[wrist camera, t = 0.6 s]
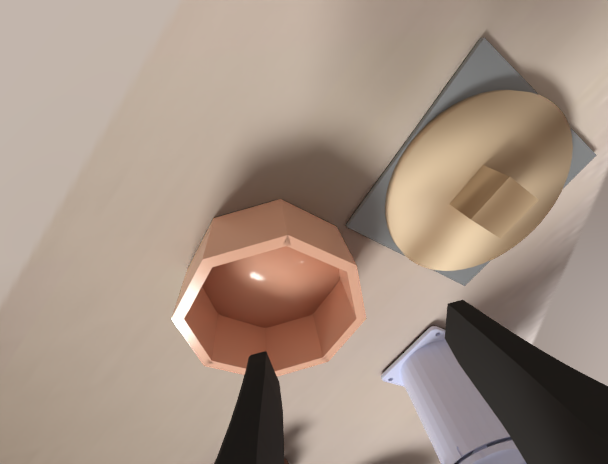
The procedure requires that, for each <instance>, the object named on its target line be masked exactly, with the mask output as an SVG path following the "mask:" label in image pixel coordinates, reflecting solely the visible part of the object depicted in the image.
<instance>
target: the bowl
mask: <svg viewBox="0 0 608 464" xmlns="http://www.w3.org/2000/svg"><path fill="white" fill-rule="evenodd" d="M171 319H172V321H173V322H174V324H175V325H176V326H177V328H178V329H179V331H180V332H181V334H182V335H183V336H184V338H185V339H186V341H187V342H188V344H189V345H190V346H191V348H192V349H193V351H194V352H195V354H196V355H197V356H198V358H199V359H200V361H201V362H202V364H203V365H204V366H207V367H212V368H216V369H221V370H225V371H230V372H234V373H239V374H243V375H245V371H246V367H247V363H248V358H249V356H250V355H253V354H256V353H260V352H264V351H266V352H267V354H268V356H269V359H270V361H271V364H272V366H273V369H274V371H275V373H276V376H281V375H284V374H288V373H291V372H295V371H298V370H301V369H305V368H308V367H312V366H315V365H318V364H322V363H325V362H328V361H329V360H330V359H331V358H332V357H333V356H334V355H335V353H336V352H337V351H338V350H339V349H340V348H341V347H342V346H343V344H344V343H345V342H346V341H347V340H348V339H349V338H350V336H351V335H352V334H353V333H354V332H355V331H356V330H357V329H358V327H359V326H360V325H361V324H362V323H363V322H364V321H365V320H366V314H365V309H364V303H363V298H362V292H361V286H360V281H359V275H358V270H357V265H356V263H355V261H354V259H353V257H352V255H351V253H350V251H349V249H348V248H347V246H346V244H345V242H344V240H343V238H342V236H341V234H340V232H339V230H338V228H337V226H334V225H332V224H330V223H328V222H326V221H324V220H322V219H320V218H318V217H316V216H314V215H312V214H310V213H308V212H306V211H304V210H302V209H300V208H298V207H296V206H294V205H292V204H290V203H288V202H286V201H284V200H282V199H279V200H275V201H272V202H268V203H265V204H261V205H258V206H254V207H251V208H247V209H244V210H240V211H237V212H233V213H230V214H226V215H223V216H219V217H216V218H213V220H212V222H211V224H210V226H209V228H208V230H207V232H206V234H205V236H204V237H203V239H202V241H201V243H200V245H199V247H198V249H197V251H196V253H195V255H194V257H193V259H192V261H191V263H190V265H189V267H188V269H187V272H186V275H185V278H184V281H183V284H182V287H181V290H180V293H179V297H178V300H177V303H176V306H175V309H174V312H173V315H172V318H171Z"/></svg>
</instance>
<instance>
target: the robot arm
mask: <svg viewBox="0 0 608 464" xmlns="http://www.w3.org/2000/svg"><path fill="white" fill-rule="evenodd" d="M381 378H382V380H383V381H385V382H389V383H393V384H396V385H400V386H404V387H405V388H406V390H407V392H408V395H409V397H410V399H411V401H412V403H413V405H414V407H415V409H416V411H417V414H418V416H419V418H420V420H421V422H422V424H423V426H424V428H425V431H426V433H427V435H428V437H429V439H430V441H431V443H432V445H433V447H434V450H435V452H436V454H437V456H438V458H439V460H440V462H441V464H608V386H606V385H604V384H602V383H600V382H598V381H596V380H594V379H592V378H590V377H588V376H586V375H584V374H582V373H580V372H578V371H577V370H575V369H573V368H571V367H569V366H568V365H566V364H564V363H562V362H560V361H559V360H557V359H555V358H554V357H552V356H550V355H548V354H547V353H545V352H543V351H542V350H540V349H538V348H537V347H535V346H533V345H532V344H530V343H528V342H527V341H525V340H524V339H522V338H520V337H519V336H517V335H516V334H514V333H512V332H511V331H509V330H508V329H506V328H505V327H503V326H502V325H500V324H499V323H497V322H495V321H494V320H492V319H491V318H489V317H488V316H486V315H485V314H483V313H482V312H480V311H479V310H477V309H476V308H474V307H473V306H471V305H470V304H468V303H467V302H465V301H464V300H461V301H457V302H453V303H449V304H448V307H447V318H446V330H444V329H442V328H439V327H437V326H432V327H430V328H429V329H427V330H426V331H425V332H424V333H423V334H422V335H421V336H420V337H419V338H418V339H417V340H416V341H415V342H414V343H413V344H412V345H411V346H410V347H409V348H408V349H407V350H406V351H405V352H404V353H403V354H402V355H401V356H400V357H399V358H398V359H397V360H396V361H395V362H394V363H393V364H392V365H391V366H390V367H389V368H388V369H387V370H386V371H385V372H384V373H383V374H382V375H381ZM215 464H284V435H283V409H282V401H281V393H280V385H279V381H278V378H277V376H276V373H275V371H274V369H273V366H272V364H271V361H270V359H269V356H268V354H267V352H266V351H264V352H260V353H256V354H253V355H250V356H249V358H248V363H247V367H246V371H245V375H244V379H243V383H242V386H241V390H240V393H239V397H238V400H237V403H236V406H235V409H234V412H233V415H232V418H231V421H230V424H229V427H228V430H227V432H226V435H225V438H224V440H223V443H222V446H221V448H220V451H219V454H218V456H217V459H216V461H215Z"/></svg>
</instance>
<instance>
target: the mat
mask: <svg viewBox="0 0 608 464" xmlns="http://www.w3.org/2000/svg"><path fill="white" fill-rule="evenodd" d="M493 90H514V91H524V92H531V93H534V94H538V93H537V92H536V91H535V90H534V89H533V88H532V87H531V86H530V85H529V84H528V83H527V82H526V81H525V80H524V79H523V78H522V76H521V75H520V74H519V73H518V72H517V71H516V70H515V69H514V68H513V67H512V66H511V65H510V64H509V63H508V62H507V61H506V60H505V59H504V58H503V57H502V56H501V54H500V53H499V52H498V51H497V50H496V49H495V48H494V47H493V46H492V45H491V44H490V43H489V42H488V41H487V40H486V39H485V38H480V40H479V41H478V42H477V44H476V45H475V46H474V48H473V49H472V51H471V52H470V53H469V55H468V56H467V58H466V59H465V60H464V62H463V63H462V64H461V66H460V67H459V69H458V70H457V71H456V73H455V74H454V76H453V77H452V78H451V80H450V81H449V82H448V84H447V85H446V87H445V88H444V89H443V91H442V92H441V94H440V95H439V96H438V98H437V99H436V100H435V102H434V103H433V105H432V106H431V107H430V109H429V110H428V112H427V113H426V114H425V116H424V117H423V118H422V120H421V121H420V123H419V124H418V125H417V127H416V128H415V130H414V131H413V132H412V134H411V135H410V136H409V138H408V139H407V141H406V142H405V143H404V145H403V146H402V148H401V149H400V150H399V152H398V153H397V154H396V156H395V157H394V159H393V160H392V161H391V163H390V164H389V166H388V167H387V168H386V170H385V171H384V172H383V174H382V175H381V177H380V178H379V179H378V181H377V182H376V184H375V185H374V186H373V188H372V189H371V190H370V192H369V193H368V195H367V196H366V197H365V199H364V200H363V202H362V203H361V204H360V206H359V207H358V209H357V210H356V211H355V213H354V214H353V215H352V217H351V218H350V220H349V221H348V222H347V224H346V226H347V227H348V228H350V229H352V230H354V231H356V232H358V233H360V234H362V235H364V236H366V237H368V238H370V239H372V240H374V241H376V242H378V243H380V244H382V245H384V246H386V247H388V248H390V249H392V250H394V251H396V252H398V253H400V254H402V255H404V254H403V252H402V251H401V250H400V249H399V248H398V246H397V245H396V244H395V242H394V241H393V239H392V237H391V235H390V233H389V230H388V227H387V223H386V218H385V200H386V193H387V189H388V185H389V181H390V178H391V176H392V173H393V170H394V168H395V166H396V164H397V162H398V160H399V159H400V157H401V155H402V154H403V152H404V151H405V149H406V148H407V146H408V145H409V143H410V142H411V141H412V140H413V139H414V137H415V136H416V135H417V134H418V133H419V132H420V131H421V130H422V129H423V128H424V127H425V126H426V125H427V124H428V123H429V122H430V121H431V120H432V119H434V118H435V117H436V116H437V115H439V114H440V113H441V112H443V111H444V110H446V109H447V108H449V107H450V106H452V105H454V104H456V103H458V102H460V101H462V100H464V99H466V98H468V97H471V96H474V95H477V94H480V93H484V92H489V91H493ZM538 95H539V94H538ZM570 130H571V134H572V143H573V151H572V161H571V166H570V170H569V173H568V176H567V179H566V182H565V184H564V187H565V186H566V185H567V184H568V183H569V182H570V181H571V180H572V179H573V178H574V177H575V176H576V175H577V174H578V173H579V172H580V171H581V170H582V169H583V168H584V167H585V166H586V165H587V164H588V163H589V162H590V161H591V160H592V159H593V158H594V157H595V156H596V154H595V153H594V152H593V151H592V150H591V149H590V148H589V147H588V146H587V145H586V144H585V142H584V141H583V140H582V139H581V138H580V137H579V136H578V135H577V134H576V133H575V132H574V131H573V130H572V129H571V128H570ZM564 187H563V188H564ZM404 256H405V255H404ZM490 261H491V260H490ZM490 261H488V262H486V263H483V264H480V265H477V266H474V267H471V268H467V269H462V270H454V271H440V270H434V271H436V272H438V273H440V274H442V275H444V276H446V277H448V278H450V279H452V280H454V281H456V282H458V283H460V284H462V285H464V286H465V285H466V284H467V283H468V282H469V281H470V280H471V279H472V278H473V277H474V276H476V275H477V274H478V273H479V272H480V271H481V270H482V269H483V268H484V267H485V266H486V265H487V264H488V263H489V262H490ZM432 270H433V269H432Z"/></svg>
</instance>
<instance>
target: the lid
mask: <svg viewBox="0 0 608 464" xmlns="http://www.w3.org/2000/svg"><path fill="white" fill-rule="evenodd" d="M572 151H573V143H572V134H571V130H570V126H569V124H568V122H567V120H566V117H565V116H564V114H563V113H562V112H561V110H560V109H559V108H558V107H557V106H556V105H555V104H554V103H553V102H551V101H550V100H548V99H546V98H545V97H543V96H541V95H538V94H534V93H531V92H524V91H514V90H493V91H489V92H484V93H480V94H477V95H474V96H471V97H468V98H466V99H464V100H462V101H460V102H458V103H456V104H454V105H452V106H450V107H449V108H447V109H446V110H444V111H443V112H441V113H440V114H439V115H437V116H436V117H435V118H434V119H432V120H431V121H430V122H429V123H428V124H427V125H426V126H425V127H424V128H423V129H422V130H421V131H420V132H419V133H418V134H417V135H416V136H415V137H414V139H413V140H412V141H411V142H410V143H409V145H408V146H407V148H406V149H405V151H404V152H403V154H402V155H401V157H400V159H399V160H398V162H397V164H396V166H395V168H394V170H393V173H392V176H391V178H390V181H389V185H388V189H387V193H386V200H385V218H386V223H387V227H388V230H389V233H390V235H391V237H392V239H393V241H394V242H395V244H396V245H397V246H398V248H399V249H400V250H401V251H402V252H403V254H404V255H405V256H406V257H408V258H409V259H410V260H411V261H413V262H414V263H416V264H418V265H420V266H423V267H425V268H429V269H433V270H440V271H454V270H462V269H467V268H471V267H474V266H477V265H480V264H483V263H486V262H488V261H490V260H492V259H494V258H496V257H498V256H500V255H502V254H504V253H505V252H507V251H508V250H510V249H511V248H513V247H514V246H515V245H517V244H518V243H519V242H521V241H522V240H523V239H524V238H525V237H526V236H528V235H529V234H530V233H531V232H532V231H533V230H534V229H535V228H536V227H537V226H538V225H539V224H540V222H541V221H542V220H543V219H544V218H545V216H546V215H547V214H548V212H549V211H550V210H551V208H552V207H553V205H554V204H555V202H556V200H557V199H558V197H559V195H560V193H561V191H562V189H563V187H564V184H565V182H566V179H567V176H568V173H569V170H570V166H571V161H572Z"/></svg>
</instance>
